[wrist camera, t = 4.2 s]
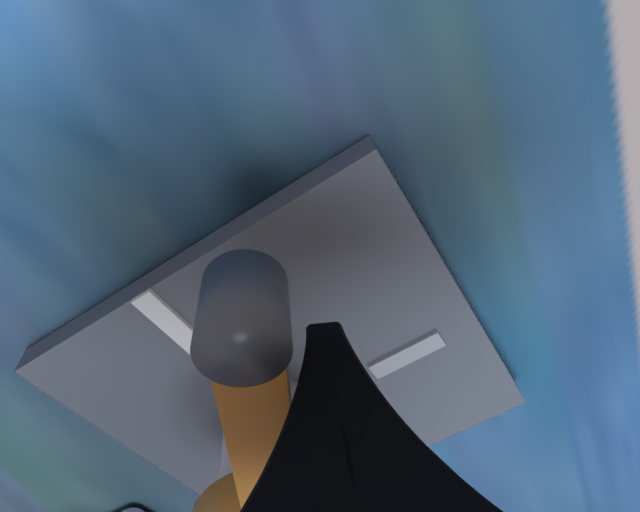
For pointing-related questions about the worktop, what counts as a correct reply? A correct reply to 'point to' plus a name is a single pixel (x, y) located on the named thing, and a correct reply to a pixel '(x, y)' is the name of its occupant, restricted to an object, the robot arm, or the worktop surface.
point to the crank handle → (244, 364)
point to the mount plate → (305, 308)
